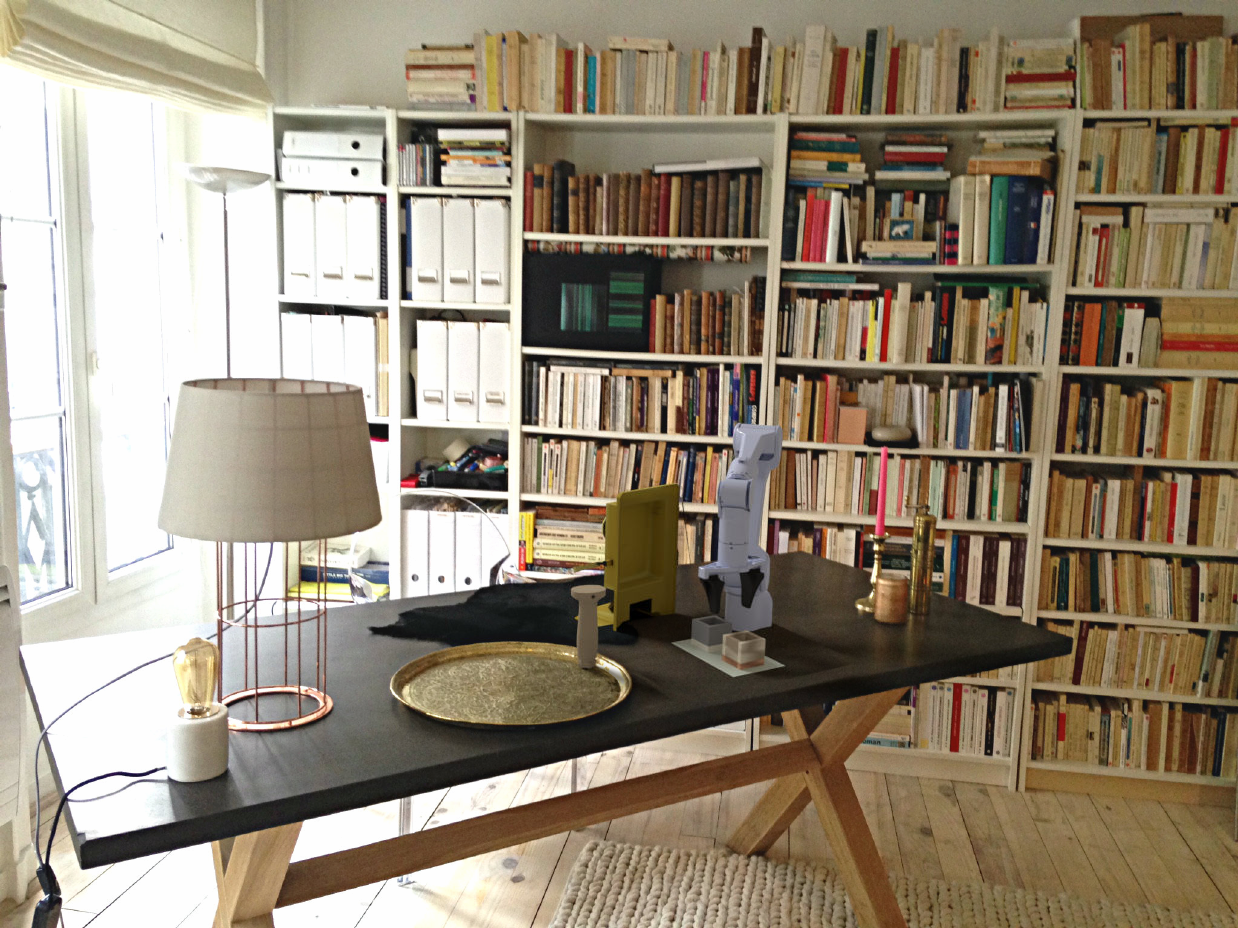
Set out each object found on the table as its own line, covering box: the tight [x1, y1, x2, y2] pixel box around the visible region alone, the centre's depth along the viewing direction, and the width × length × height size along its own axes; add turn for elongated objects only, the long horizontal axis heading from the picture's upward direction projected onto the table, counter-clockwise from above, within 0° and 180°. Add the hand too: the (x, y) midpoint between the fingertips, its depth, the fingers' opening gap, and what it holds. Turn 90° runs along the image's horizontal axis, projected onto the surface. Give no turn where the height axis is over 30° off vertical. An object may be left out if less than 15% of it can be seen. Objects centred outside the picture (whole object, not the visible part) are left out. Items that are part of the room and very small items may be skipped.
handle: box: [570, 584, 607, 669], centre depth 188 cm, size 5×6×15 cm
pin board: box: [671, 638, 786, 678], centre depth 193 cm, size 12×20×5 cm, turn 31°
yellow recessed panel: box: [572, 482, 693, 632], centre depth 214 cm, size 31×14×30 cm, turn 135°
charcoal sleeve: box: [690, 614, 733, 653], centre depth 197 cm, size 6×6×5 cm
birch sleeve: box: [722, 630, 766, 670], centre depth 189 cm, size 6×6×5 cm
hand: (730, 609), depth 195 cm, fingers open, 7 cm apart
